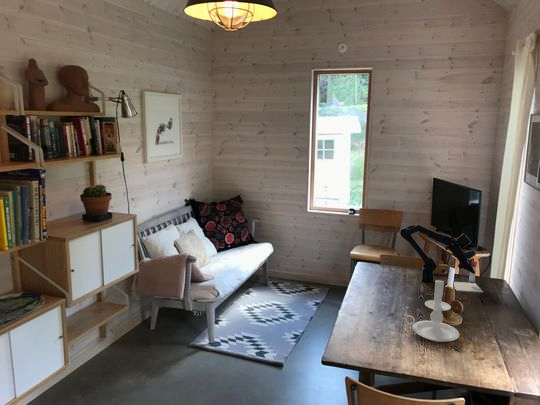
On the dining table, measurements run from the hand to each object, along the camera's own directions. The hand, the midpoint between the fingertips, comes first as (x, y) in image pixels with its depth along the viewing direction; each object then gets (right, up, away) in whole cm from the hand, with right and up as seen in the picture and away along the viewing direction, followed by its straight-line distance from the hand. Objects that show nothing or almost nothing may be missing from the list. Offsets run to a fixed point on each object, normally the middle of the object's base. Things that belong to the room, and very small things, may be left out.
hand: (475, 272), depth 264 cm
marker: (-1, -6, +2) cm, 7 cm away
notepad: (-5, -9, +2) cm, 11 cm away
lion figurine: (-11, -5, +26) cm, 29 cm away
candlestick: (-49, -20, -60) cm, 80 cm away
